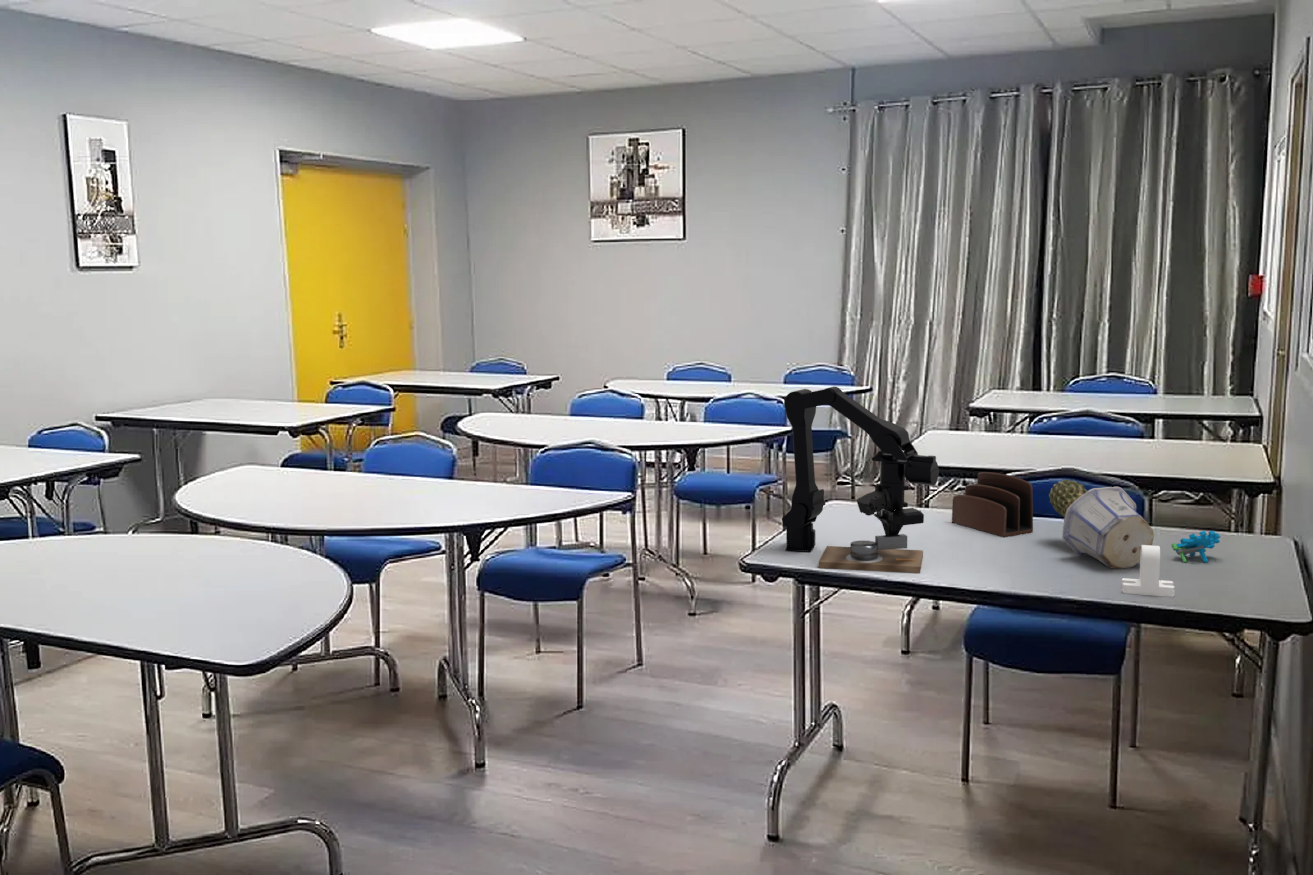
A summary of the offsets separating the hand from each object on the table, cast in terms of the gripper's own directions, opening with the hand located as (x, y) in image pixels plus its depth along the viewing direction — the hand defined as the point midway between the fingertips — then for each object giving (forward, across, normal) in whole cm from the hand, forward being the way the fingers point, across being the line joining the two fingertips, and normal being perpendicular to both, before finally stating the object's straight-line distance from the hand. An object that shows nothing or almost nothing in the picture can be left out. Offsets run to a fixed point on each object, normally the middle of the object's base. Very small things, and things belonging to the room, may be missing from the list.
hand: (890, 544), depth 261 cm
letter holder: (+5, -16, +41) cm, 45 cm away
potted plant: (+3, +17, +45) cm, 48 cm away
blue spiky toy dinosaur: (+3, +30, +63) cm, 70 cm away
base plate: (+4, 0, -5) cm, 6 cm away
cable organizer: (+2, +45, +35) cm, 57 cm away
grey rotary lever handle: (+2, +2, -4) cm, 5 cm away
